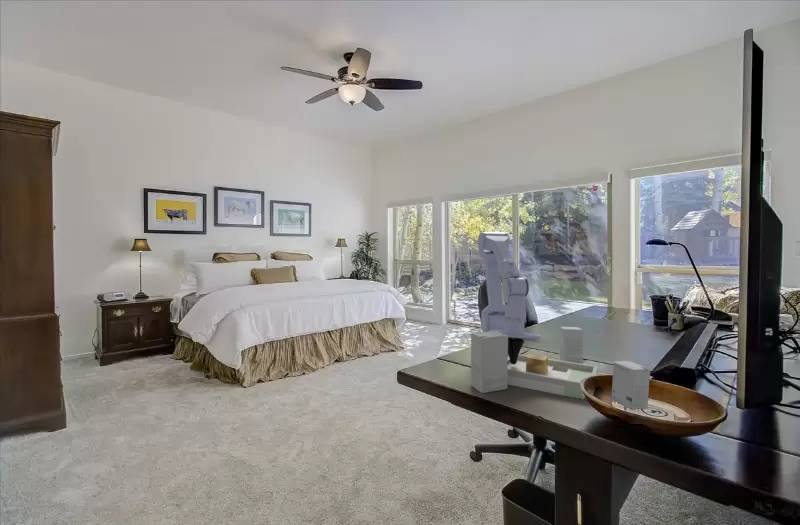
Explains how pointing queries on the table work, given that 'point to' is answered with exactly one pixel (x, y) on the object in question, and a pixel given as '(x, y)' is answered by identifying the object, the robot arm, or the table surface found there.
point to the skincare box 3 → (630, 385)
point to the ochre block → (536, 363)
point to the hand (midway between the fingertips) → (513, 363)
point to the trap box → (551, 377)
